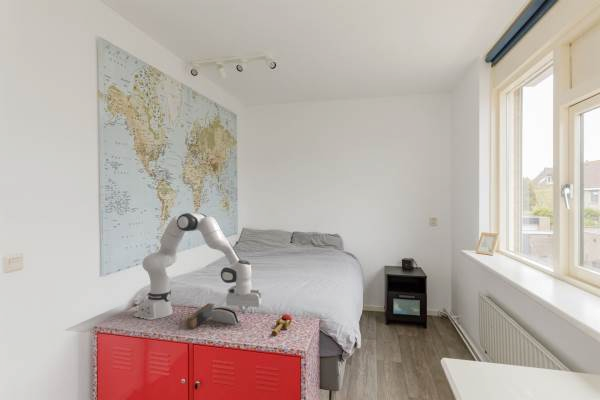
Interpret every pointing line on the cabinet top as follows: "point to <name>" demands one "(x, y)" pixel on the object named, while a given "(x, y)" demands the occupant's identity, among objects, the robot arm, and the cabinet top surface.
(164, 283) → the robot arm
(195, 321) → the frame block
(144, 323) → the cabinet top surface
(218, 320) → the grey rounded case
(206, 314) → the mounting plate
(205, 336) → the cabinet top surface
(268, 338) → the cabinet top surface
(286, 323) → the kendama
